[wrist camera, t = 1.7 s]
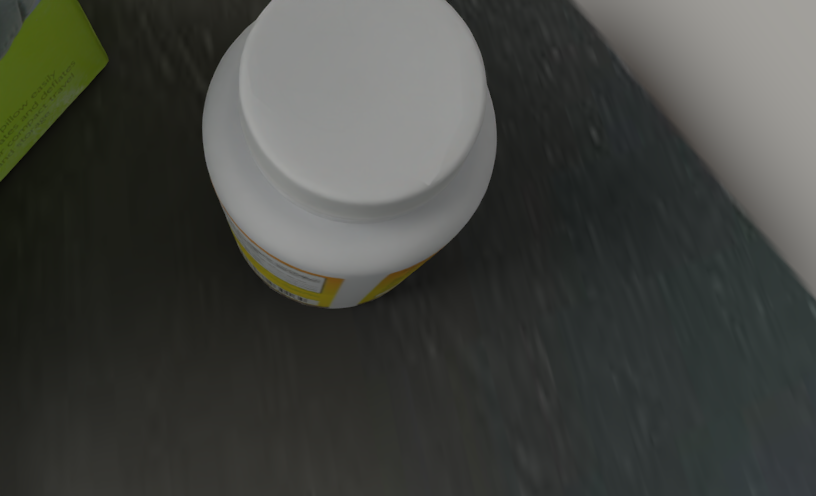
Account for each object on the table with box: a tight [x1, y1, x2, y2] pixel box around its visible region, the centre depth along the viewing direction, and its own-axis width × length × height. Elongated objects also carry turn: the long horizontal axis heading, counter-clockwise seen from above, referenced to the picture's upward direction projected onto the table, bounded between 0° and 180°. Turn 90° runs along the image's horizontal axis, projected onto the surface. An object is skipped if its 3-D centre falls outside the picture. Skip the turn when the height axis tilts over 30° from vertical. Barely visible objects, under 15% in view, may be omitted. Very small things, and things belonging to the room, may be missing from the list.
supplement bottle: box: [202, 0, 497, 309], centre depth 17 cm, size 6×6×10 cm
